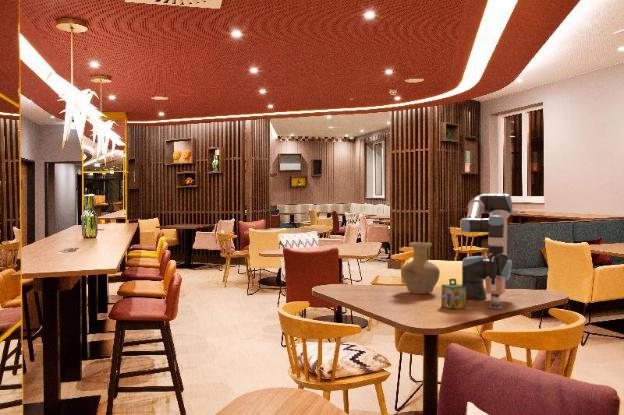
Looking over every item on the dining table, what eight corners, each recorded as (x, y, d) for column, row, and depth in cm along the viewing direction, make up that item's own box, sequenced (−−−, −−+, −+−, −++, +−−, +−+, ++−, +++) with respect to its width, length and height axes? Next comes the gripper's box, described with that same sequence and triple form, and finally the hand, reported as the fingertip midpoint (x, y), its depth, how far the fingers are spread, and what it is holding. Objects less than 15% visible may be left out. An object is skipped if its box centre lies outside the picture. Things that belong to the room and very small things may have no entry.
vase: (397, 295, 309) (397, 244, 308) (404, 289, 330) (405, 241, 329) (436, 298, 301) (437, 245, 300) (441, 291, 322) (442, 242, 321)
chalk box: (453, 309, 270) (453, 281, 269) (440, 306, 278) (440, 278, 277) (466, 308, 274) (466, 279, 274) (453, 304, 282) (454, 277, 282)
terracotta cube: (485, 293, 273) (485, 277, 272) (489, 290, 279) (489, 275, 279) (501, 294, 268) (501, 278, 268) (505, 292, 275) (505, 276, 275)
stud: (487, 308, 272) (487, 294, 272) (488, 306, 279) (489, 292, 278) (501, 310, 269) (501, 295, 269) (503, 307, 276) (503, 293, 276)
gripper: (498, 247, 262) (498, 293, 263) (507, 244, 280) (507, 287, 281) (483, 246, 266) (482, 291, 267) (493, 243, 284) (492, 285, 285)
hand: (495, 289), depth 274 cm, fingers closed on terracotta cube, 8 cm apart
